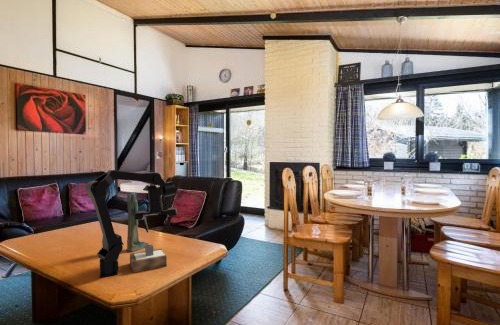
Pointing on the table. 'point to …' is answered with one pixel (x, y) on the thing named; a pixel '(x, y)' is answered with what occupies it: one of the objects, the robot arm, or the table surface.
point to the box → (147, 262)
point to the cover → (148, 253)
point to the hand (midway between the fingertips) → (157, 231)
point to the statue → (133, 225)
